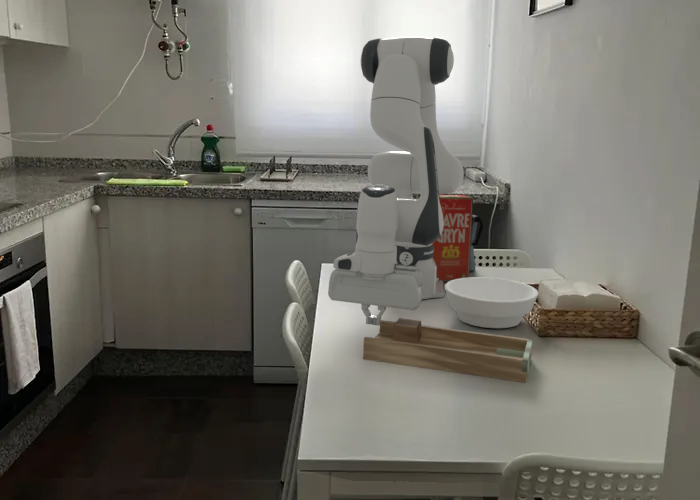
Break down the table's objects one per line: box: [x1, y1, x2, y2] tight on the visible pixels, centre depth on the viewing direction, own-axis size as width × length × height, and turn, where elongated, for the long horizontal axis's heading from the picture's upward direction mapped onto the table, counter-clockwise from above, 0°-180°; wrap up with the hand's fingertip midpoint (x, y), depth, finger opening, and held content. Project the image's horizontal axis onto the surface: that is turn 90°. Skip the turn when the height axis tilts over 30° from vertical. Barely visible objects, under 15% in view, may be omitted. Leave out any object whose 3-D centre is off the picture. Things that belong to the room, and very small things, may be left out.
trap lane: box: [362, 319, 534, 383], centre depth 147 cm, size 13×33×4 cm, turn 72°
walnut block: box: [393, 317, 422, 344], centre depth 152 cm, size 5×5×4 cm
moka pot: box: [469, 214, 484, 272], centre depth 223 cm, size 10×15×20 cm, turn 40°
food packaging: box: [433, 194, 474, 282], centre depth 210 cm, size 13×9×25 cm
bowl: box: [444, 276, 539, 329], centre depth 173 cm, size 22×22×8 cm
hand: (373, 324), depth 153 cm, fingers closed
